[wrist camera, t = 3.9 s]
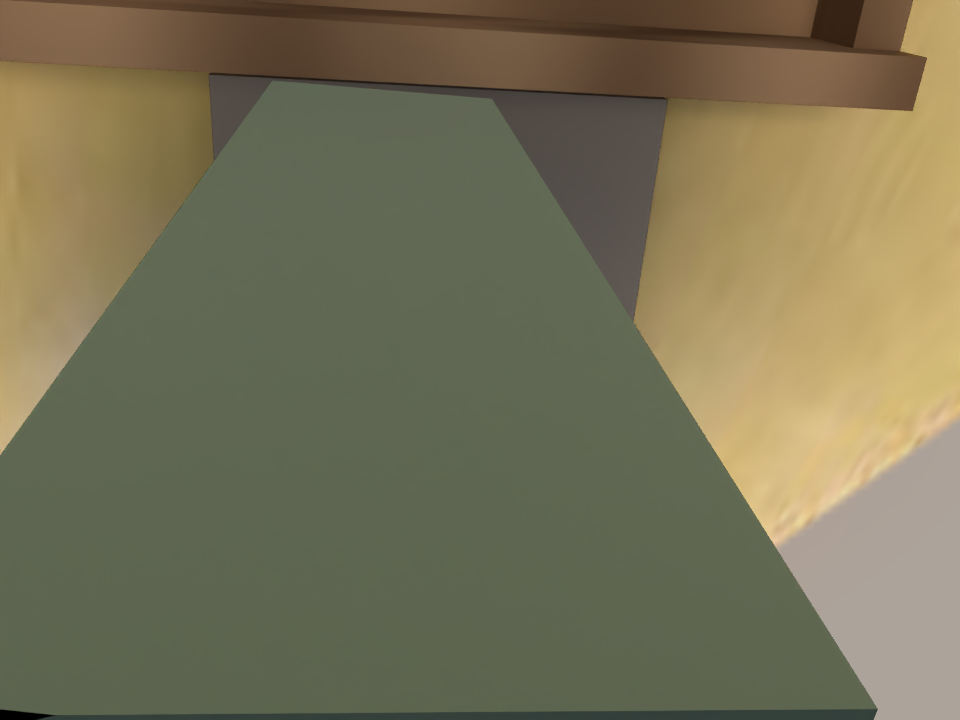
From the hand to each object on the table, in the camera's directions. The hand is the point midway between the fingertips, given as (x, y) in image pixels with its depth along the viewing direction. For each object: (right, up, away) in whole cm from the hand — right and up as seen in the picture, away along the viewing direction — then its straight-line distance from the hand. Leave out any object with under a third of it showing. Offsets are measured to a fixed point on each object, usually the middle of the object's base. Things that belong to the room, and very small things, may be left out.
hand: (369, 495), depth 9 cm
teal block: (0, +1, +3) cm, 3 cm away
